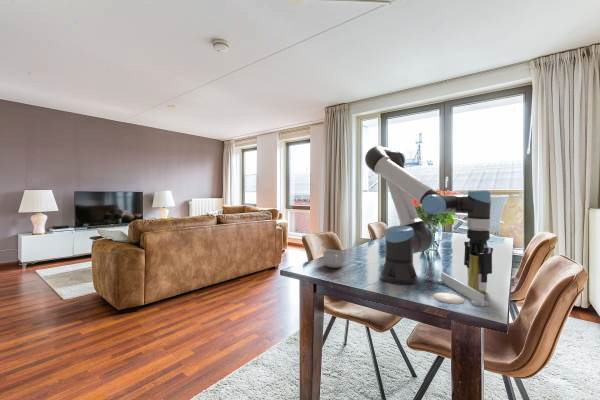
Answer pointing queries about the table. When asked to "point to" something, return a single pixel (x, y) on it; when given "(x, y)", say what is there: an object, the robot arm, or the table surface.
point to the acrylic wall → (464, 290)
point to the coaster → (448, 298)
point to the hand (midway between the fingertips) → (476, 287)
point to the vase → (474, 273)
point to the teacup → (333, 258)
